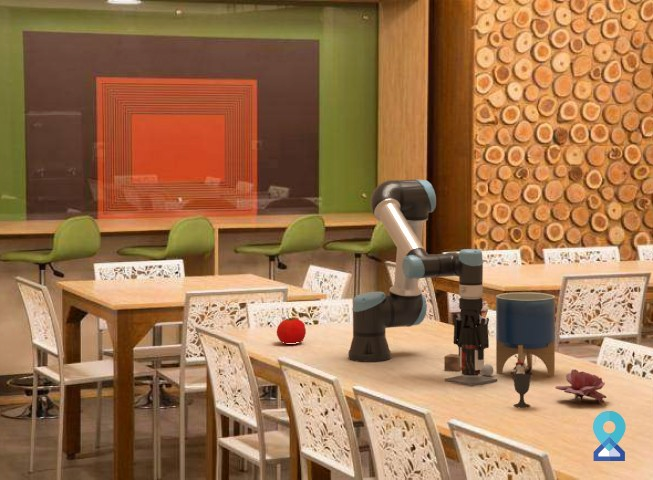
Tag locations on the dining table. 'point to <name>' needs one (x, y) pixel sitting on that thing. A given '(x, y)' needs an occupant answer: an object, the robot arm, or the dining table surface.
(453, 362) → the walnut block
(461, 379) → the slate coaster
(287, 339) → the tomato
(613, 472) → the dining table surface
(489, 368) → the grey ball
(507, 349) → the planter
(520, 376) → the sundae
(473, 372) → the deodorant
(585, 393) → the flower
